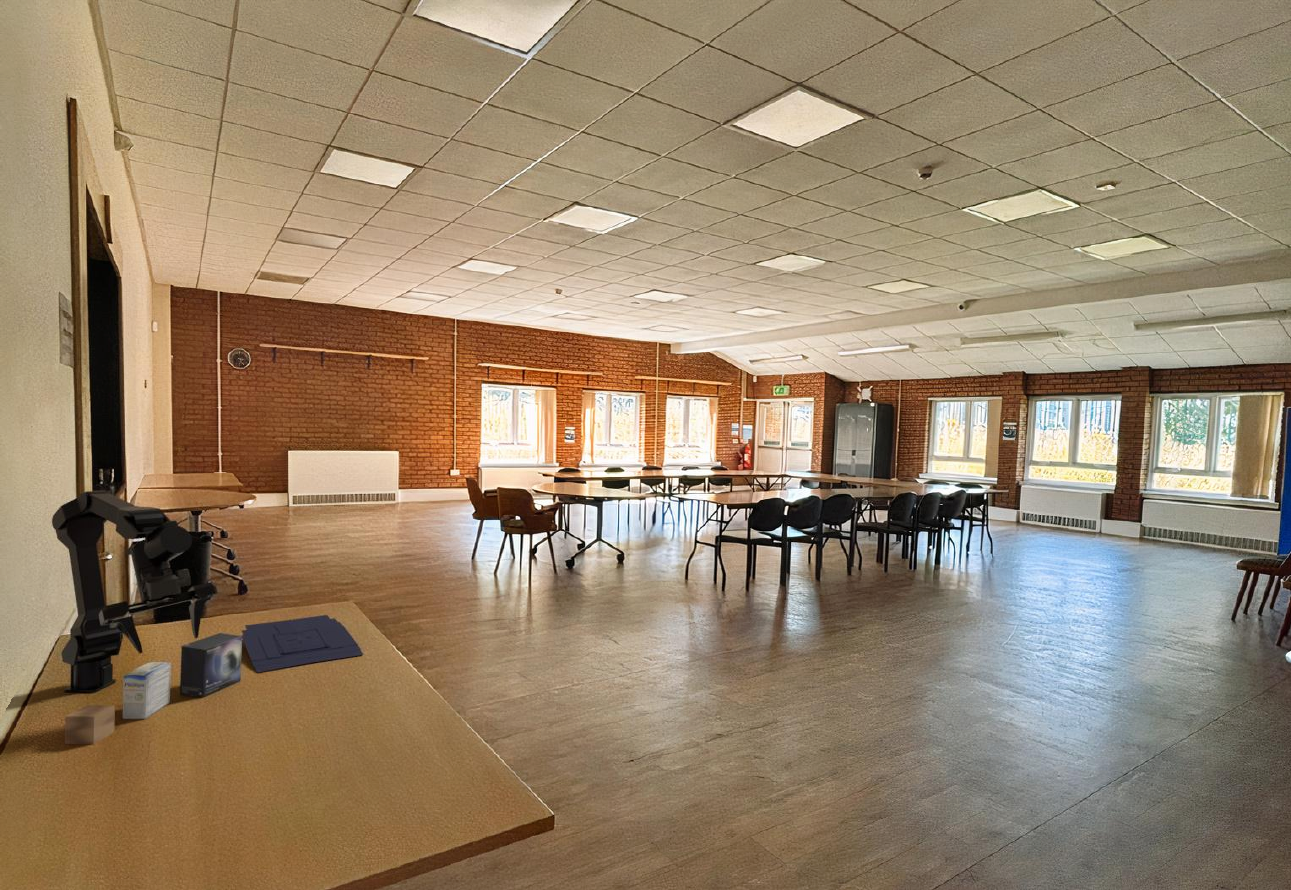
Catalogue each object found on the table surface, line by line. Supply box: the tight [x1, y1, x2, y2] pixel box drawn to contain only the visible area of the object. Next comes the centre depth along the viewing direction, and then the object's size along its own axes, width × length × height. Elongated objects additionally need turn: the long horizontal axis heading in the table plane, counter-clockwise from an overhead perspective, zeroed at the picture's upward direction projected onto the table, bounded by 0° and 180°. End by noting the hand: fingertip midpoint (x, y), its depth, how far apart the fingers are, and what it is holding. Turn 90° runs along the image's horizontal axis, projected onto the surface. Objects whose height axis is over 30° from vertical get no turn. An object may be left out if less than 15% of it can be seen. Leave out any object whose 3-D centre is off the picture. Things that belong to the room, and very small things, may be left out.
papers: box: [240, 614, 364, 673], centre depth 179 cm, size 24×30×4 cm
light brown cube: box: [64, 704, 116, 745], centre depth 126 cm, size 5×5×5 cm
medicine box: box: [122, 661, 172, 720], centre depth 138 cm, size 8×4×9 cm, turn 5°
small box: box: [178, 632, 243, 698], centre depth 151 cm, size 11×6×10 cm, turn 168°
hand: (169, 645), depth 135 cm, fingers open, 9 cm apart
